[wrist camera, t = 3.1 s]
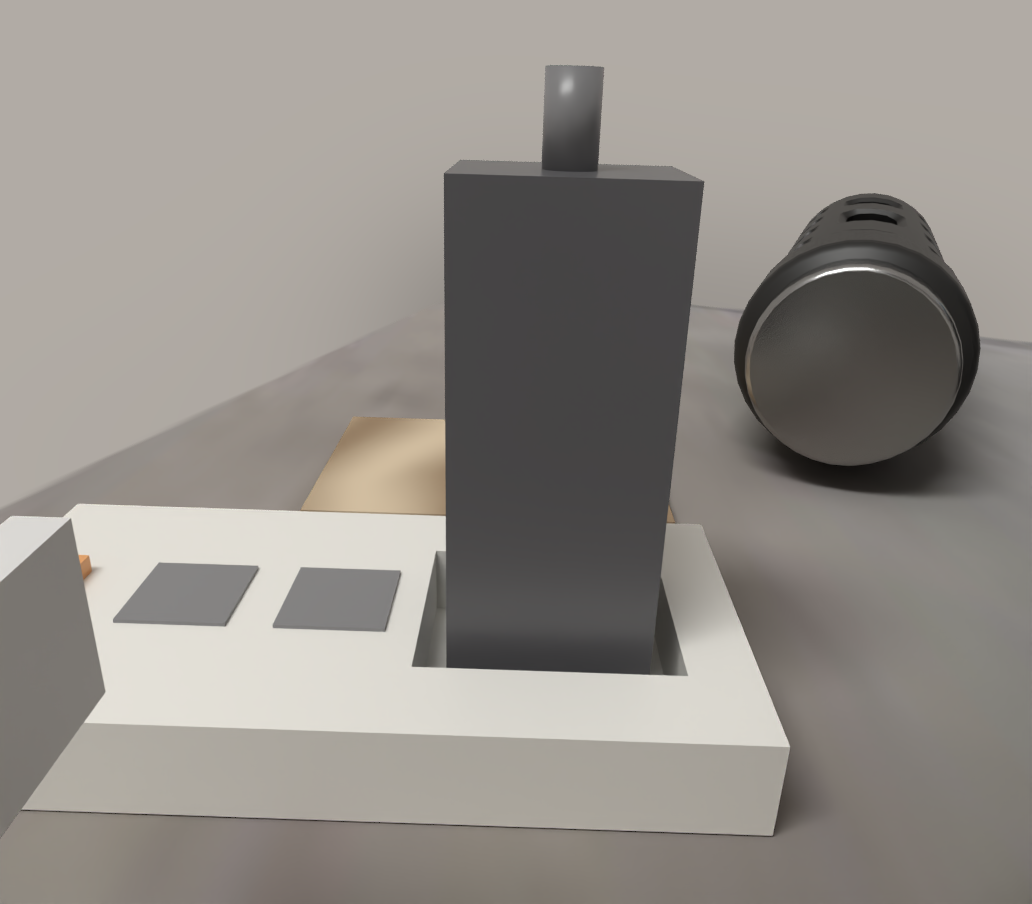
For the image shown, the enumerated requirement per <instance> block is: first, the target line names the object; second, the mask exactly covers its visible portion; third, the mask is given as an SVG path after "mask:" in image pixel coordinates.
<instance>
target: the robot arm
mask: <svg viewBox="0 0 1032 904" xmlns="http://www.w3.org/2000/svg"><path fill="white" fill-rule="evenodd" d="M105 692H106V691H105V686H104V681H103V676H102V671H101V666H100V661H99V656H98V651H97V646H96V641H95V636H94V631H93V626H92V621H91V616H90V611H89V606H88V601H87V596H86V591H85V586H84V581H83V576H82V571H81V565H80V560H79V555H78V550H77V545H76V540H75V535H74V530H73V525H72V520H71V518H60V517H29V516H11V517H9V518H8V519H7V520H6V521H4V522H3V523H2V524H1V525H0V838H1V837H2V836H3V834H4V833H5V831H6V830H7V829H8V827H9V826H10V824H11V823H12V822H13V820H14V819H15V818H16V816H17V815H18V813H19V812H20V811H21V809H22V808H23V806H24V805H25V804H26V802H27V801H28V799H29V798H30V797H31V795H32V794H33V793H34V791H35V790H36V788H37V787H38V786H39V784H40V783H41V781H42V780H43V779H44V777H45V776H46V774H47V773H48V772H49V770H50V769H51V768H52V766H53V765H54V763H55V762H56V761H57V759H58V758H59V756H60V755H61V754H62V752H63V751H64V749H65V748H66V747H67V745H68V744H69V742H70V741H71V740H72V738H73V737H74V736H75V734H76V733H77V731H78V730H79V729H80V727H81V726H82V724H83V723H84V722H85V720H86V719H87V717H88V716H89V715H90V713H91V712H92V711H93V709H94V708H95V706H96V705H97V704H98V702H99V701H100V699H101V698H102V697H103V695H104V694H105Z"/></svg>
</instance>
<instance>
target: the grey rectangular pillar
mask: <svg viewBox="0 0 1032 904" xmlns="http://www.w3.org/2000/svg"><path fill="white" fill-rule="evenodd" d="M603 77H604V67H594V66H571V65H568V66H567V65H564V66H563V65H550V66H546V67H545V95H544V120H543V121H544V122H543V146H542V162H511V161H479V160H460V161H459V162H457V163H456V164H455V165H454V166H452V167H451V168H450V169H449V170H447V171H446V172H445V173H444V259H445V260H444V280H445V481H446V668H462V669H491V670H521V671H550V672H580V673H609V674H639V675H650V669H651V660H652V651H653V642H654V633H655V624H656V615H657V606H658V597H659V587H660V578H661V569H662V560H663V551H664V542H665V533H666V524H667V515H668V506H669V497H670V488H671V479H672V469H673V460H674V451H675V442H676V433H677V424H678V415H679V406H680V397H681V388H682V379H683V370H684V361H685V351H686V342H687V333H688V324H689V315H690V306H691V296H692V288H693V279H694V269H695V261H696V252H697V242H698V233H699V223H700V215H701V205H702V196H703V188H704V181H702V180H700V179H698V178H696V177H693V176H691V175H689V174H687V173H685V172H683V171H681V170H678V169H676V168H674V167H672V166H640V165H608V164H598V158H599V157H598V156H599V142H600V141H599V139H600V126H601V109H602V94H603Z"/></svg>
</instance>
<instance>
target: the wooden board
mask: <svg viewBox="0 0 1032 904" xmlns="http://www.w3.org/2000/svg"><path fill="white" fill-rule="evenodd" d="M301 511H309V512H339V513H370V514H400V515H430V516H446V481H445V420H439V419H408V418H377V417H353V418H352V420H351V422H350V423H349V425H348V427H347V429H346V431H345V432H344V434H343V436H342V438H341V439H340V441H339V443H338V445H337V446H336V448H335V450H334V452H333V453H332V455H331V457H330V459H329V461H328V462H327V464H326V466H325V468H324V469H323V471H322V473H321V475H320V476H319V478H318V480H317V482H316V484H315V485H314V487H313V489H312V491H311V492H310V494H309V496H308V498H307V499H306V501H305V503H304V505H303V506H302V508H301ZM667 523H672V524H675V521H674V518H673V515H672V512H671V509H670V506H668V515H667Z"/></svg>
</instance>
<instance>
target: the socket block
mask: <svg viewBox="0 0 1032 904" xmlns="http://www.w3.org/2000/svg"><path fill="white" fill-rule="evenodd" d="M63 518H71V520H72V525H73V530H74V535H75V540H76V545H77V550H78V555H79V560H80V565H81V571H82V576H83V581H84V586H85V591H86V596H87V601H88V606H89V611H90V616H91V621H92V626H93V631H94V636H95V641H96V646H97V651H98V656H99V661H100V666H101V671H102V676H103V681H104V686H105V691H106V692H105V694H104V695H103V697H102V698H101V699H100V701H99V702H98V704H97V705H96V706H95V708H94V709H93V711H92V712H91V713H90V715H89V716H88V717H87V719H86V720H85V722H84V723H83V724H82V726H81V727H80V729H79V730H78V731H77V733H76V734H75V736H74V737H73V738H72V740H71V741H70V742H69V744H68V745H67V747H66V748H65V749H64V751H63V752H62V754H61V755H60V756H59V758H58V759H57V761H56V762H55V763H54V765H53V766H52V768H51V769H50V770H49V772H48V773H47V774H46V776H45V777H44V779H43V780H42V781H41V783H40V784H39V786H38V787H37V788H36V790H35V791H34V793H33V794H32V795H31V797H30V798H29V799H28V801H27V802H26V804H25V805H24V806H23V808H22V809H21V810H48V811H77V812H105V813H134V814H163V815H191V816H220V817H249V818H277V819H306V820H335V821H363V822H392V823H421V824H449V825H478V826H506V827H535V828H564V829H592V830H621V831H650V832H678V833H707V834H736V835H764V836H773V832H774V827H775V822H776V817H777V812H778V807H779V802H780V797H781V792H782V787H783V781H784V776H785V771H786V766H787V761H788V756H789V751H790V745H789V743H788V740H787V738H786V735H785V733H784V730H783V728H782V725H781V723H780V720H779V718H778V715H777V713H776V710H775V708H774V705H773V703H772V700H771V698H770V695H769V693H768V690H767V688H766V685H765V683H764V680H763V678H762V675H761V673H760V670H759V668H758V665H757V663H756V660H755V658H754V655H753V653H752V650H751V648H750V645H749V643H748V640H747V638H746V635H745V633H744V630H743V628H742V625H741V623H740V620H739V618H738V615H737V613H736V610H735V608H734V605H733V603H732V600H731V598H730V595H729V593H728V590H727V588H726V585H725V583H724V580H723V578H722V575H721V573H720V570H719V568H718V565H717V563H716V560H715V558H714V555H713V553H712V550H711V548H710V545H709V543H708V540H707V538H706V535H705V533H704V530H703V528H702V525H701V524H672V523H667V524H666V533H665V542H664V551H663V560H662V569H661V578H660V587H659V597H658V606H657V615H656V624H655V633H654V642H653V651H652V660H651V669H650V675H639V674H609V673H580V672H550V671H521V670H491V669H462V668H446V516H430V515H400V514H370V513H339V512H309V511H279V510H248V509H218V508H188V507H158V506H127V505H97V504H77V505H76V506H75V507H74V508H73V509H72V510H71V511H69V512H68V513H67V514H66V515H65V516H64V517H63Z"/></svg>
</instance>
